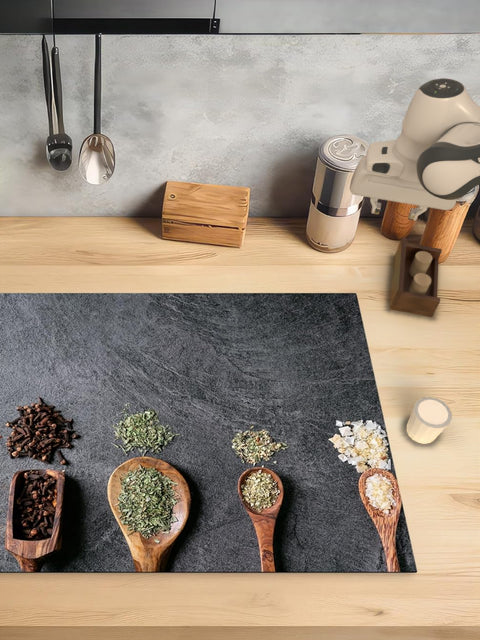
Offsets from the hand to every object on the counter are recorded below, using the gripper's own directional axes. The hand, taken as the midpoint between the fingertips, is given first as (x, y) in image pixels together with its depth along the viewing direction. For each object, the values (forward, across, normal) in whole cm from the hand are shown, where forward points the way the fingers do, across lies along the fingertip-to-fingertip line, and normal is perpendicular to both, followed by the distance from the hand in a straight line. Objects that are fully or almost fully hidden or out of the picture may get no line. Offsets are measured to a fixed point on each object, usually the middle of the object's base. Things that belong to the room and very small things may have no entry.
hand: (393, 215), depth 150 cm
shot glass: (+19, -13, +38) cm, 44 cm away
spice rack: (+19, -10, 0) cm, 21 cm away
